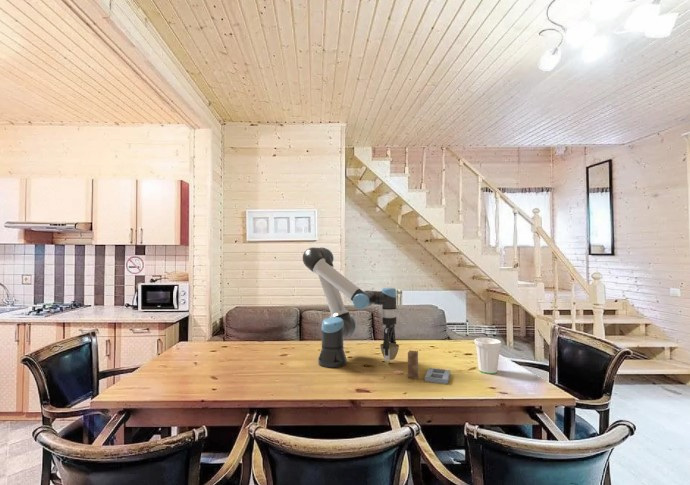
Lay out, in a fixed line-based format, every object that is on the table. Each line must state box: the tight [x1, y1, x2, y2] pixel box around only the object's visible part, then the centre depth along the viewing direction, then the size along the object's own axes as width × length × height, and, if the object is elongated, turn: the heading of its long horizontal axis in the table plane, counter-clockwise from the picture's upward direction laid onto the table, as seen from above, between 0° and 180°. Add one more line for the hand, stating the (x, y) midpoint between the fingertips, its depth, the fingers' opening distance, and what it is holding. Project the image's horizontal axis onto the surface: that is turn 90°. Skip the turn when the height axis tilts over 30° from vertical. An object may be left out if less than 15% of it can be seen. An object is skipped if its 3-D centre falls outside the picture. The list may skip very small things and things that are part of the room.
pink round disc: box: [393, 370, 404, 375], centre depth 176 cm, size 5×5×1 cm
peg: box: [407, 350, 419, 380], centre depth 170 cm, size 4×4×12 cm
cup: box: [474, 337, 502, 375], centre depth 179 cm, size 12×12×15 cm
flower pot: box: [379, 343, 400, 361], centre depth 191 cm, size 10×10×7 cm
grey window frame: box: [424, 367, 451, 385], centre depth 169 cm, size 10×14×2 cm
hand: (389, 358), depth 191 cm, fingers closed on flower pot, 10 cm apart
